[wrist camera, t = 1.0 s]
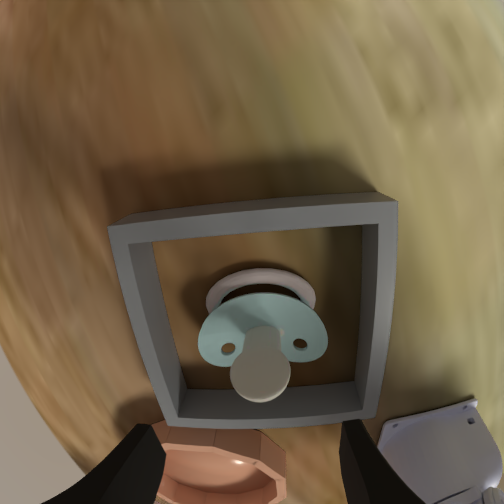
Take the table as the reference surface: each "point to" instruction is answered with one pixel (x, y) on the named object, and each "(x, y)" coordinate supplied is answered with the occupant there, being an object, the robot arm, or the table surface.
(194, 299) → the table surface
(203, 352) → the pacifier
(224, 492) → the bowl
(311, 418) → the gray square frame
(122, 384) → the table surface
